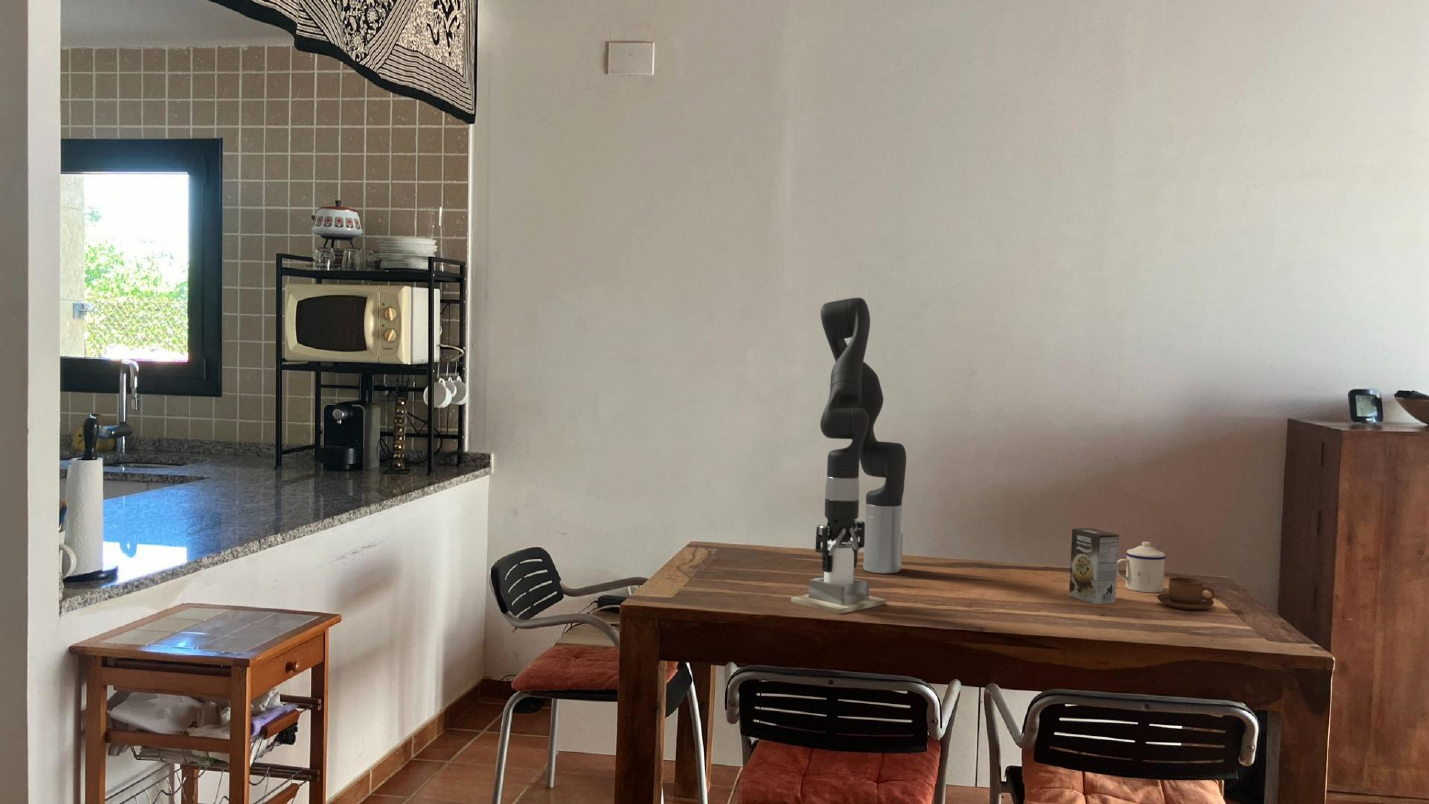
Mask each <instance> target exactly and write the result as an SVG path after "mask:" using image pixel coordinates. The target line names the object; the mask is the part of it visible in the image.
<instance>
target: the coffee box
mask: <svg viewBox="0 0 1429 804" xmlns="http://www.w3.org/2000/svg"><path fill="white" fill-rule="evenodd" d="M1119 541H1120V534H1117V533H1113V532H1109V531H1105V530H1101V529H1096V528H1085V527H1083V528H1081V527H1080V528H1077V527H1076V528H1072V529H1071V548H1070V549H1071V550H1070V551H1071V552H1070V571H1069V586H1068V587H1069V588H1068V589H1069V591H1068V596H1069V597H1072V598H1074V599H1078V600H1081V601H1084V602H1087V603H1089V604H1094V605H1104V604H1115V603H1116V592H1117V591H1116V589H1117V577H1118V576H1117V561H1118V560H1119V559H1118V558H1119V543H1120V542H1119Z"/></svg>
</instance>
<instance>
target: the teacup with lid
mask: <svg viewBox="0 0 1429 804" xmlns="http://www.w3.org/2000/svg"><path fill="white" fill-rule="evenodd" d="M1125 555H1126V558H1120V559H1118V561H1117V577H1119V578H1120V579H1121V580H1125V588H1126V589H1128V590H1130V591H1133V592H1138V593H1139V592H1140V593H1151V594H1153V593H1154V594H1155V593H1156V594H1157V593H1161V592H1164V580H1165V559H1166V557H1167V556H1166V554H1165V552H1163V551H1160V550H1158V549H1157V548H1156V547H1153V546H1151V542H1150V541H1142V542H1141V545H1138V546H1136V547H1134V548H1130V549H1127V551H1126V553H1125ZM1121 563H1126V569H1125V572H1126V573H1125V575H1122V574H1121V573H1120V572H1119V565H1120V564H1121Z"/></svg>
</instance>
